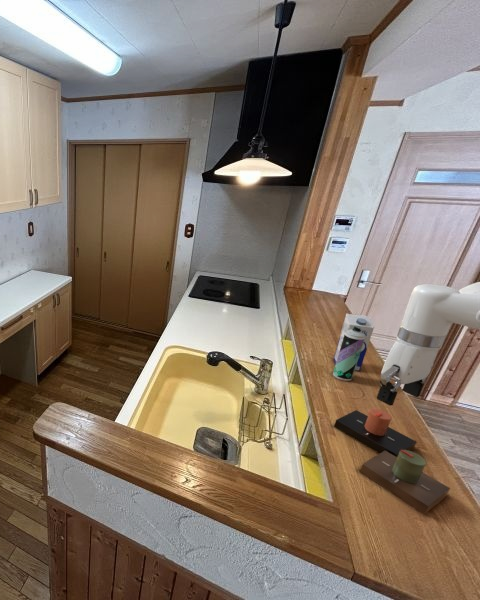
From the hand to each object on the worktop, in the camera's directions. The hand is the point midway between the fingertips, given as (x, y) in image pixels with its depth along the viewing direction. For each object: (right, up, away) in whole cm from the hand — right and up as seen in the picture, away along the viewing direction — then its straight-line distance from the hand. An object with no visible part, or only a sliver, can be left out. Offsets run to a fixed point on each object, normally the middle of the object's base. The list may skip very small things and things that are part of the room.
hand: (397, 397), depth 81 cm
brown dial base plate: (-4, -19, -5) cm, 20 cm away
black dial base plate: (+1, -14, +9) cm, 16 cm away
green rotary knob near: (-4, -16, -6) cm, 18 cm away
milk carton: (+23, -1, +43) cm, 49 cm away
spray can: (+15, -3, +36) cm, 40 cm away
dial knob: (+1, -11, +8) cm, 14 cm away
